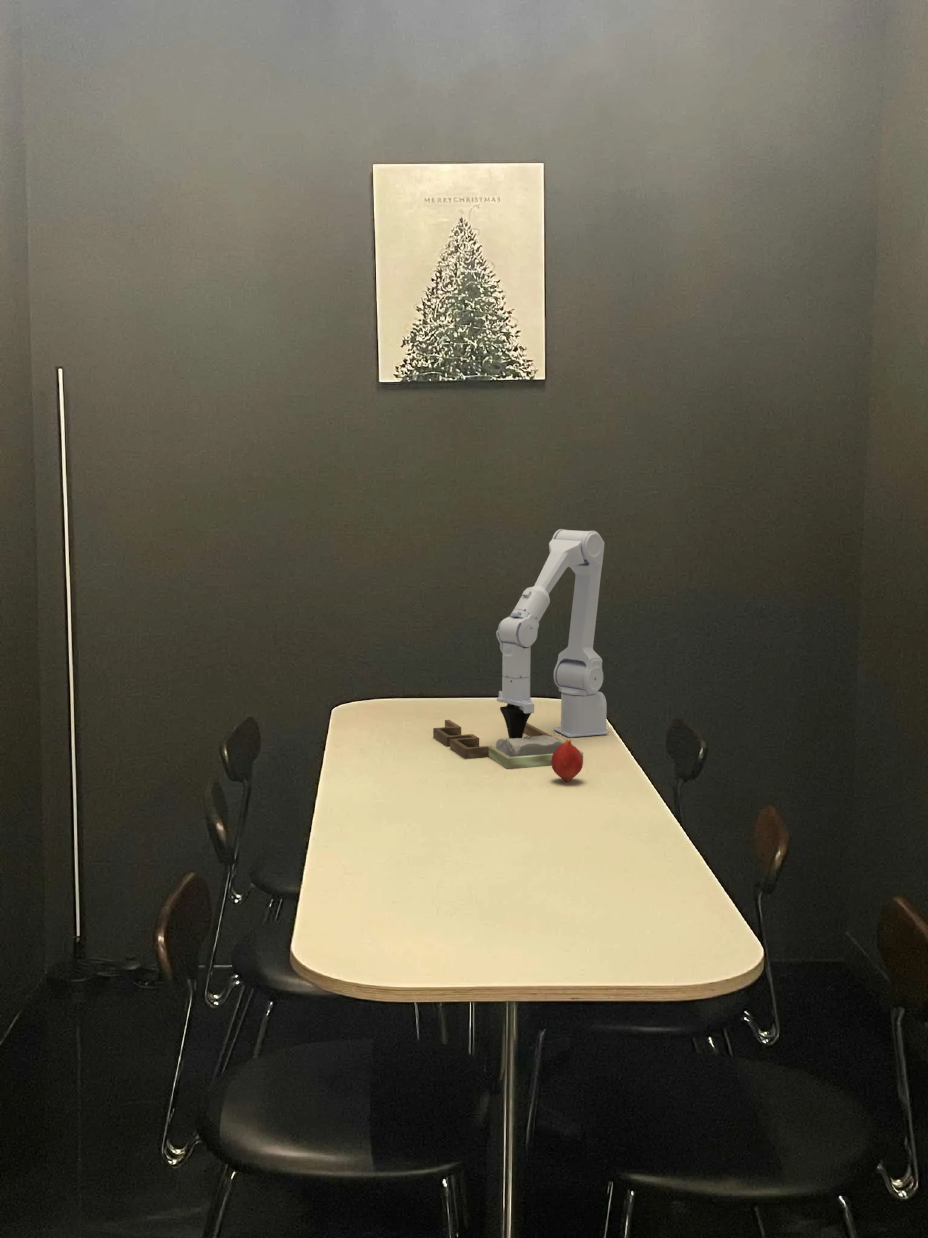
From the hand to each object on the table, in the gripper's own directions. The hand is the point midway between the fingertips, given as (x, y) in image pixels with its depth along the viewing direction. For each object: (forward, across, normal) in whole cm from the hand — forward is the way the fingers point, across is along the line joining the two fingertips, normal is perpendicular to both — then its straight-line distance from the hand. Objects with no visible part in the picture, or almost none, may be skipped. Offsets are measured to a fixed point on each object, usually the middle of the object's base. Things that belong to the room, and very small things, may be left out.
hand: (515, 741), depth 247 cm
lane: (+1, -3, -3) cm, 4 cm away
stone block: (+2, +6, 0) cm, 6 cm away
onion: (+2, +27, -1) cm, 27 cm away
